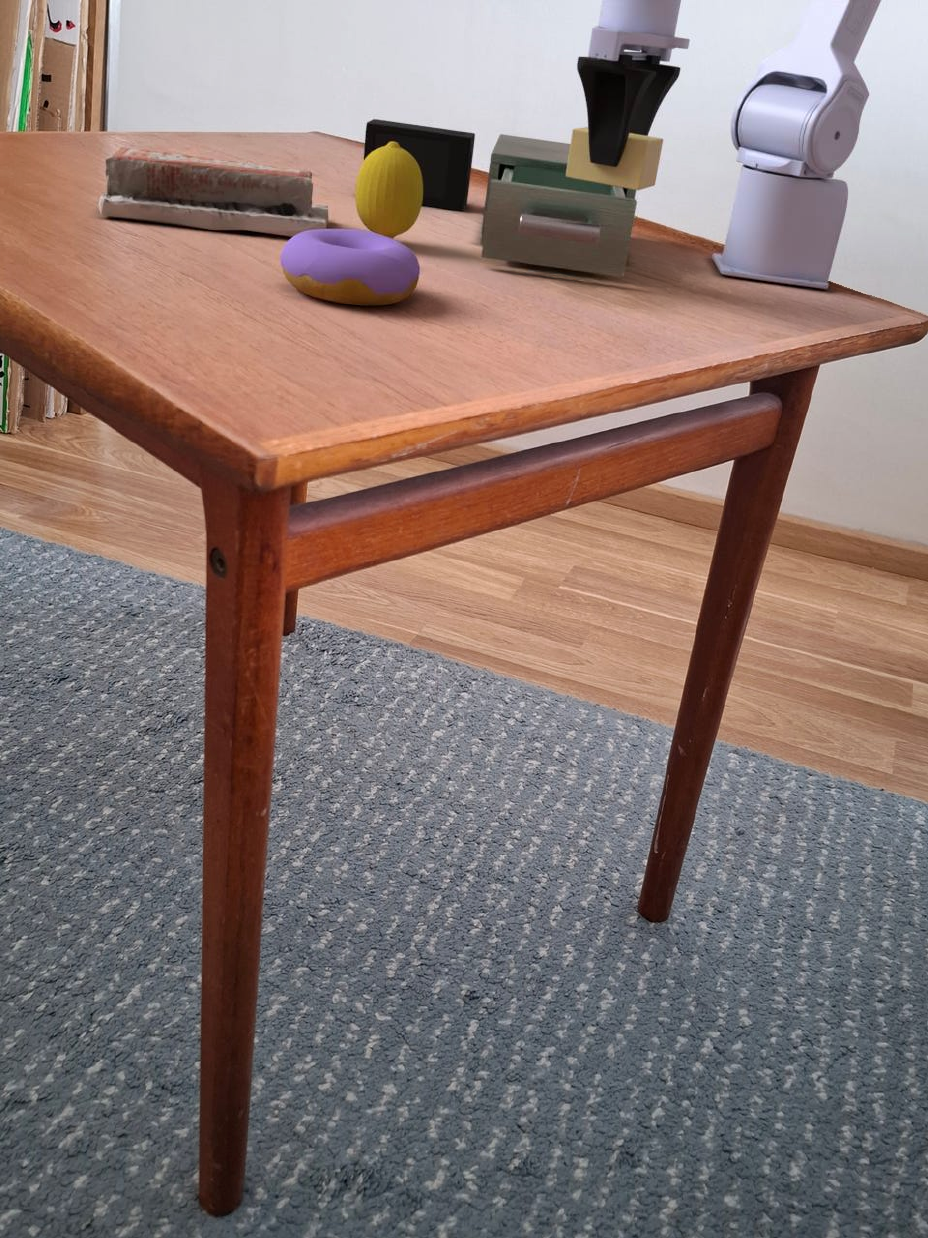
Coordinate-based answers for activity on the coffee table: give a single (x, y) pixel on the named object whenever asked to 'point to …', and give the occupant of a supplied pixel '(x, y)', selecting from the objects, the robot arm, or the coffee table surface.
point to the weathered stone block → (209, 193)
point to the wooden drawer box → (528, 160)
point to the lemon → (389, 191)
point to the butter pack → (632, 169)
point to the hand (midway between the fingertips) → (613, 162)
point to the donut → (350, 266)
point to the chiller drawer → (558, 222)
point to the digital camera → (430, 158)
